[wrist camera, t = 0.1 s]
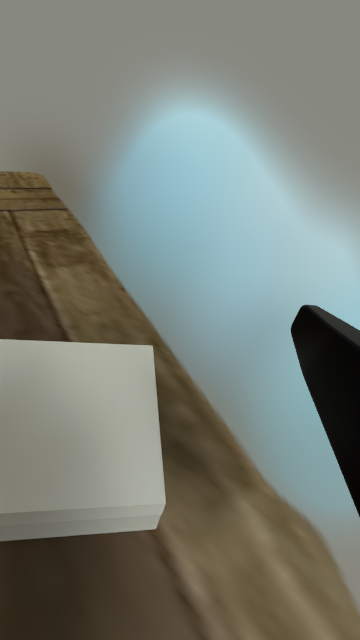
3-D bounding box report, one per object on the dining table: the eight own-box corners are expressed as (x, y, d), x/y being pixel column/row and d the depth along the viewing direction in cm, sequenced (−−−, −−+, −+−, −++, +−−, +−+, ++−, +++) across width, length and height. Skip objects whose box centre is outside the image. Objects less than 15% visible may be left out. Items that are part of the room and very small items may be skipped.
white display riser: (156, 530, 19) (165, 503, 17) (-70, 548, 17) (-97, 519, 14) (147, 378, 28) (152, 345, 26) (0, 374, 26) (-9, 338, 24)
